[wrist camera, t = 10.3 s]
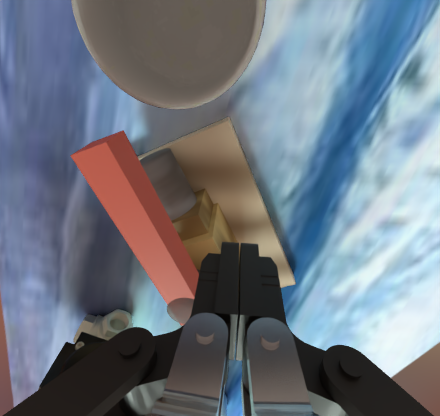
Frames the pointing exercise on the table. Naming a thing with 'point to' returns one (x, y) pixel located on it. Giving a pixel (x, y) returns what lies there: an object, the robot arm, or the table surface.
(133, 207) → the lever
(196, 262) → the valve fixture
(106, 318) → the ball valve
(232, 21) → the teacup
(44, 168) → the table surface
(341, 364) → the robot arm
